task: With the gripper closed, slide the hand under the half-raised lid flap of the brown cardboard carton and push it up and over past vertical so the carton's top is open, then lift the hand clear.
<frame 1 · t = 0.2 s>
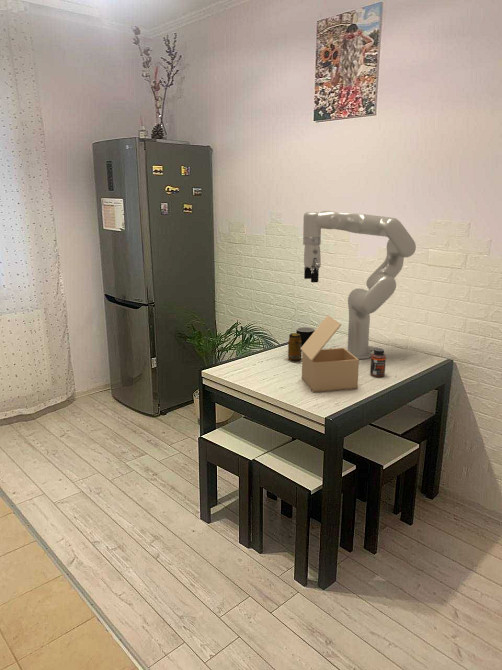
hand: (311, 280, 227), 37 cm above the table, tool pointing down, fingers open, 9 cm apart
carton: (328, 383, 207), on the table
condiment: (295, 360, 236), on the table
mug: (306, 348, 253), on the table
supplement bottle: (377, 375, 215), on the table
lid flap: (320, 337, 201), point 20 cm above the table, hinge at 50.0°
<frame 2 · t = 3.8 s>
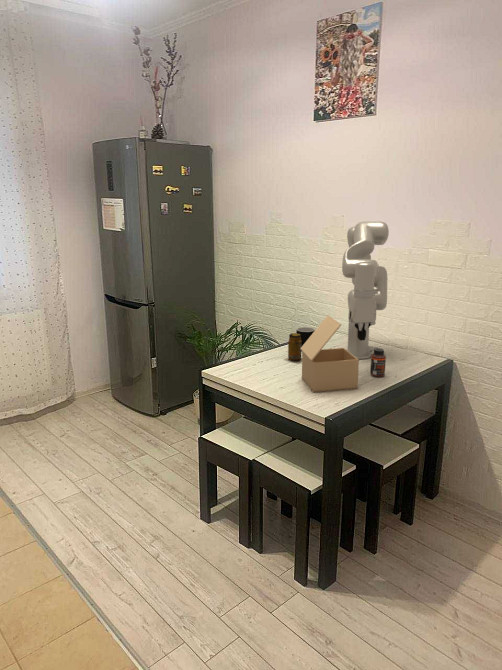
hand: (361, 339, 204), 18 cm above the table, tool pointing down, fingers closed
nothing on the table moved.
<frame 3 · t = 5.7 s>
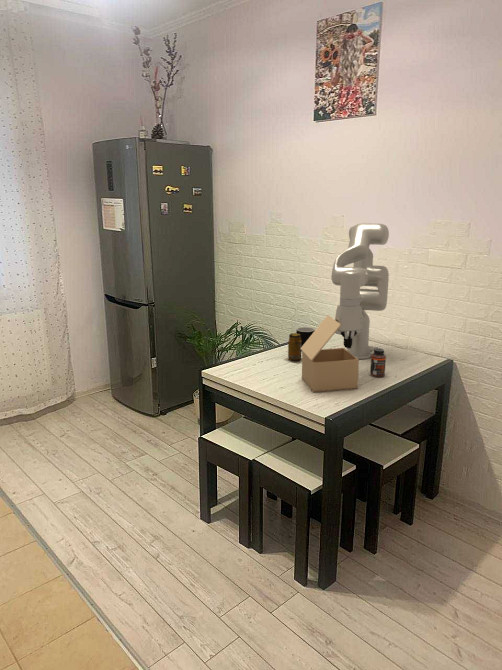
hand: (347, 347, 204), 15 cm above the table, tool pointing down, fingers closed
nothing on the table moved.
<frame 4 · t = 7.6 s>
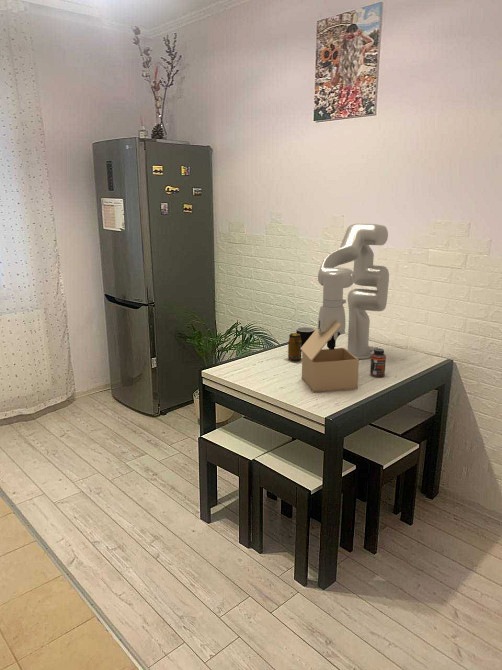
hand: (331, 348, 203), 15 cm above the table, tool pointing down, fingers closed
lid flap: (320, 337, 201), point 20 cm above the table, hinge at 50.0°, touching gripper
everything else where it was.
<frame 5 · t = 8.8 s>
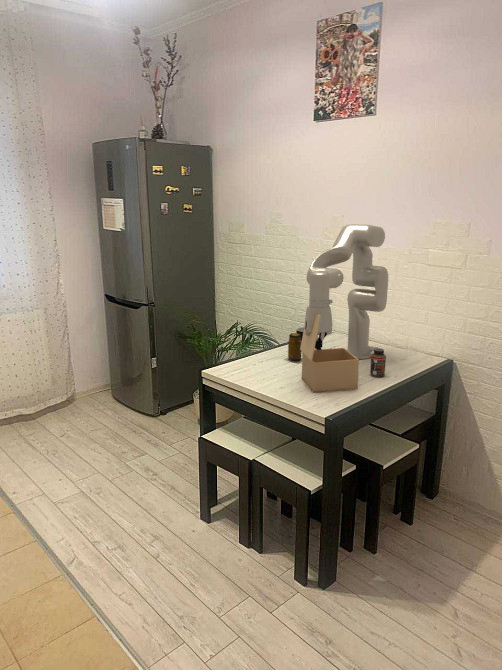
hand: (318, 349, 202), 15 cm above the table, tool pointing down, fingers closed
lid flap: (310, 333, 199), point 21 cm above the table, hinge at 79.7°, touching gripper
everything else where it was.
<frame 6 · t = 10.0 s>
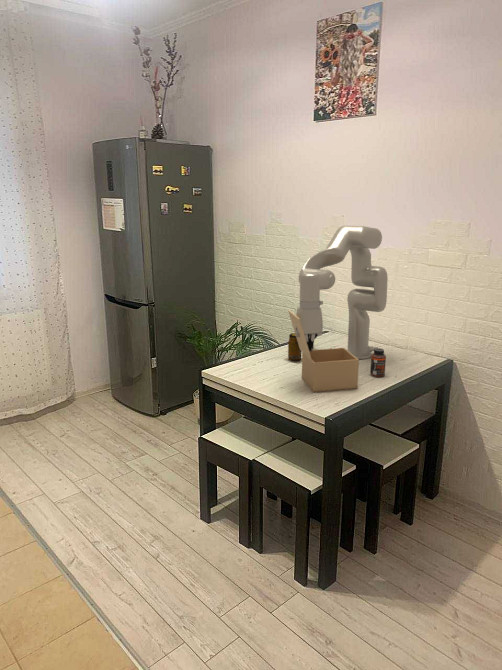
hand: (308, 350, 201), 15 cm above the table, tool pointing down, fingers closed
lid flap: (299, 334, 199), point 21 cm above the table, hinge at 107.2°, touching gripper
everything else where it was.
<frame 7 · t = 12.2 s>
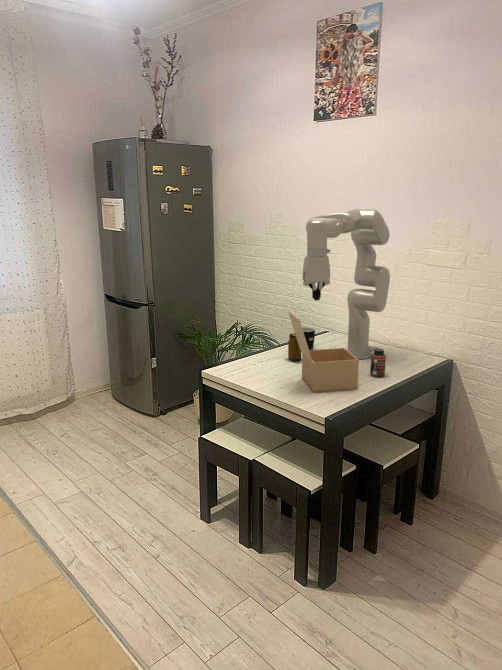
hand: (316, 299, 202), 34 cm above the table, tool pointing down, fingers closed
lid flap: (299, 334, 199), point 21 cm above the table, hinge at 107.4°
everything else where it was.
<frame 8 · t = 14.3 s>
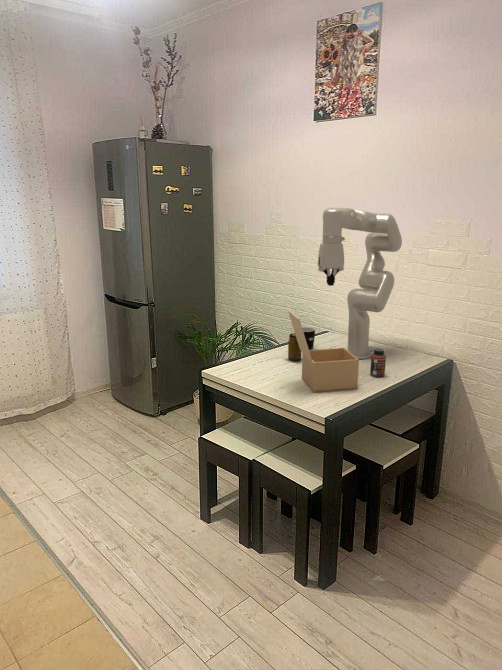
hand: (330, 285, 213), 37 cm above the table, tool pointing down, fingers closed
nothing on the table moved.
at the end: lid flap at +107° (first picture: +50°) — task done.
